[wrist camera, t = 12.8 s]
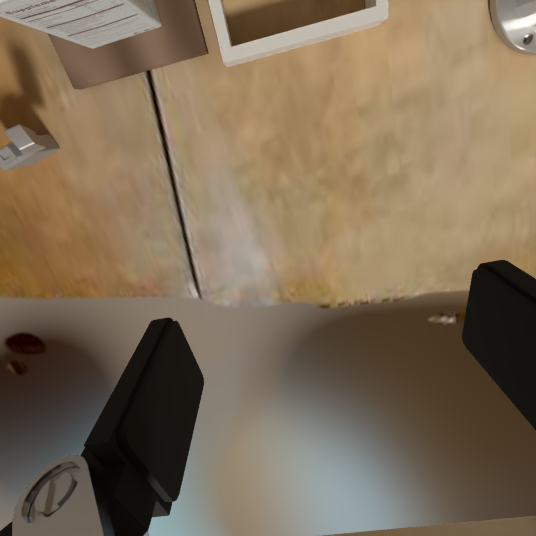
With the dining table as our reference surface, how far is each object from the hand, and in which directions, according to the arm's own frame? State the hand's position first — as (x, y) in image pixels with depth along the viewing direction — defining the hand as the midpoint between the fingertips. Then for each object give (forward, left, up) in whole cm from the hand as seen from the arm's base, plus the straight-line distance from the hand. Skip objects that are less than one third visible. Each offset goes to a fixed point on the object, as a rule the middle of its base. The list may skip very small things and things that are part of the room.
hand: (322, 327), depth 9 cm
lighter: (+25, -8, -28) cm, 39 cm away
